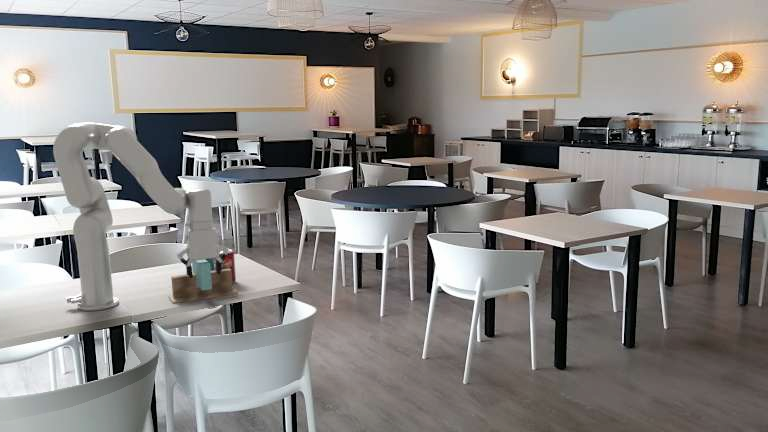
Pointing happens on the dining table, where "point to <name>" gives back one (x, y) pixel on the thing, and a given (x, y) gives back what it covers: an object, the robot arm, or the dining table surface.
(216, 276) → the walnut slotted stand
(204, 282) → the teal rectangular block
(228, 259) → the soda can
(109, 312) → the dining table surface
